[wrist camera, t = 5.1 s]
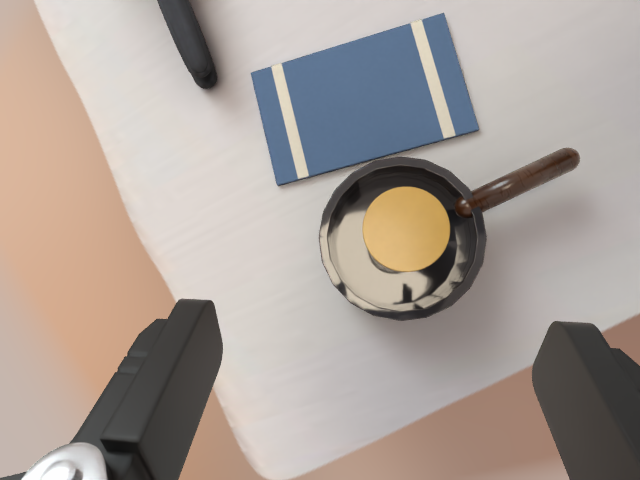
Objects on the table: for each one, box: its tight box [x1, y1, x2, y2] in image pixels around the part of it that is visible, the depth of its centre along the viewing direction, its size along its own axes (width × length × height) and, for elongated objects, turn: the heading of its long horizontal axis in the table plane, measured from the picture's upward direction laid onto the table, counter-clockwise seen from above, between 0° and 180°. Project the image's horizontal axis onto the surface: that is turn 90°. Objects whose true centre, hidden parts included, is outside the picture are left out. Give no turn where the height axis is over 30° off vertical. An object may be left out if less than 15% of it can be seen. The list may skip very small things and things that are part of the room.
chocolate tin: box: [362, 187, 450, 272], centre depth 30 cm, size 5×5×9 cm
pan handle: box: [454, 148, 580, 218], centre depth 30 cm, size 10×2×2 cm, turn 115°
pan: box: [319, 157, 487, 321], centre depth 32 cm, size 12×12×4 cm
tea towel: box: [251, 13, 479, 186], centre depth 36 cm, size 18×11×1 cm, turn 104°
